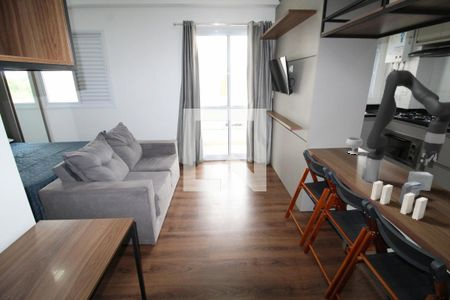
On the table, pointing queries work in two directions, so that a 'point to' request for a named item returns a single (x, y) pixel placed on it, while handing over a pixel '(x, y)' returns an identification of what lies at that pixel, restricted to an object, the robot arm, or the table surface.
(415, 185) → the medicine box
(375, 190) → the domino
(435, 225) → the table surface
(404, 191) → the domino
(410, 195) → the domino
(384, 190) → the domino
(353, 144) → the chalice
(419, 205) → the domino
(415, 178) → the skincare box
